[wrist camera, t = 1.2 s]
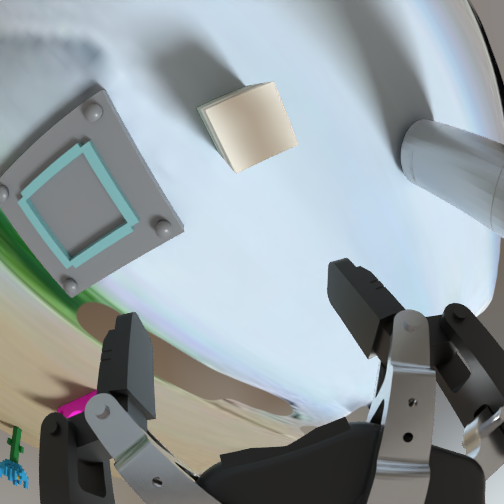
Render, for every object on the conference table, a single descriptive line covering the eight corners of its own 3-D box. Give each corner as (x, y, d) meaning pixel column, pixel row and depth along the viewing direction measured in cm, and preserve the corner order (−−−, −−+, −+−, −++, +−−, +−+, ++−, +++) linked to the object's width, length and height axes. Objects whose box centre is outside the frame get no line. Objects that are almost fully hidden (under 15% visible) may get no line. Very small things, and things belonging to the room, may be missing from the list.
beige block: (245, 86, 23) (273, 81, 16) (265, 131, 26) (298, 144, 19) (196, 107, 23) (204, 110, 16) (218, 153, 26) (235, 173, 19)
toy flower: (18, 421, 40) (12, 480, 25) (37, 436, 45) (34, 491, 30) (-2, 418, 38) (-9, 472, 23) (17, 433, 43) (13, 484, 28)
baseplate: (105, 90, 19) (99, 89, 17) (183, 225, 28) (184, 235, 26) (-4, 185, 19) (-14, 192, 17) (74, 290, 28) (69, 302, 26)
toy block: (81, 419, 43) (79, 449, 37) (58, 407, 40) (54, 437, 33) (122, 403, 42) (123, 437, 36) (96, 388, 39) (94, 425, 32)
